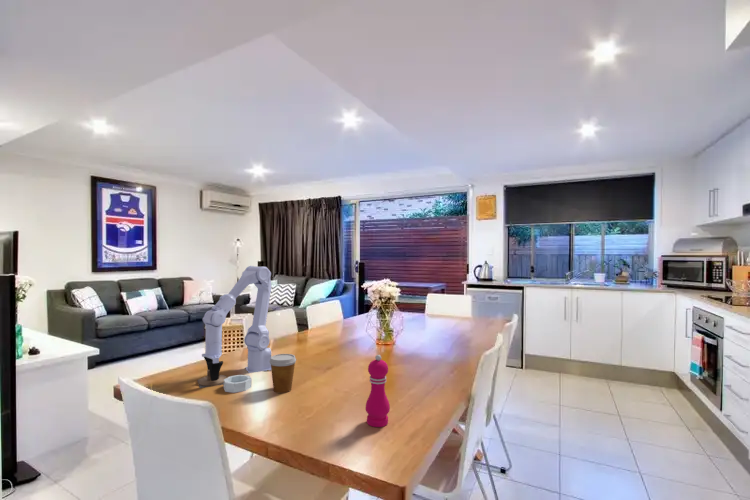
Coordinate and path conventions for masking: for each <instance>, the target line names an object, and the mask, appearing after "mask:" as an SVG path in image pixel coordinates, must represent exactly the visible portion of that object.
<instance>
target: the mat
mask: <svg viewBox="0 0 750 500" xmlns="http://www.w3.org/2000/svg"><path fill="white" fill-rule="evenodd" d="M197 383H198V387H199V389H203V388H211V387H212V386H201V385H199V379H197ZM222 385H223V386H224V383H223V384H220V385H219V386H222ZM216 386H218V385H216Z"/></svg>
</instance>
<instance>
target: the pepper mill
mask: <svg viewBox="0 0 750 500" xmlns="http://www.w3.org/2000/svg"><path fill="white" fill-rule="evenodd" d="M367 372H368V374H369V375H370V376H369V382H370V385H371V386H370V387H371V388H370V392H369V396H367V400H366V403H365V412H366V414H367V415H366V423H367V425H368V426H370V427H372V428H382V427H385V426H387V425H388V424H389V416H388V414H389V413H390V410H391V408H390V401H389V398H388V396H387V395H386V390H385V389H386V388H385V385H386V383H387V376H386V375H387V374H388V373H389V366H388V363H387V362H386V361H385V360H382V356H381V354H376V355H375V359H373V360H372V361H370V362H369V364H368V366H367Z"/></svg>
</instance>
